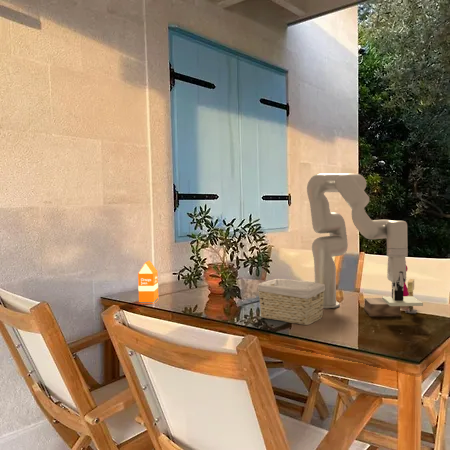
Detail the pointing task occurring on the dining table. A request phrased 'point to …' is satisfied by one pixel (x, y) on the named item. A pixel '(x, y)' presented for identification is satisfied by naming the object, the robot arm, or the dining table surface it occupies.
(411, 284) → the key
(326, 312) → the dining table surface
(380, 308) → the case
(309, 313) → the storage basket
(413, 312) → the silver metal disc
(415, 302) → the cover
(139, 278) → the orange juice
